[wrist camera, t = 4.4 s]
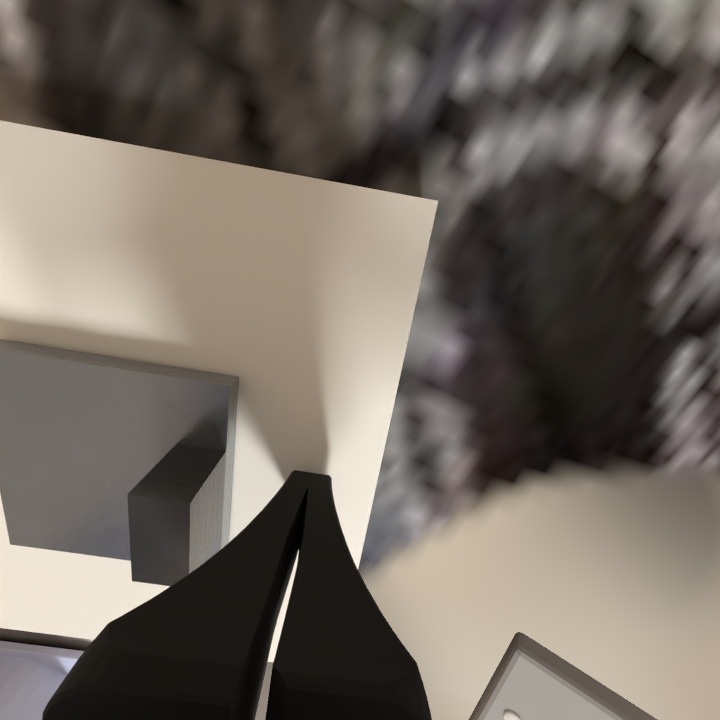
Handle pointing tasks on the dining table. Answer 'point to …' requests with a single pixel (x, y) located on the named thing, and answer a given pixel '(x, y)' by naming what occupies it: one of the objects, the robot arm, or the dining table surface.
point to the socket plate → (208, 323)
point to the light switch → (548, 690)
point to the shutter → (116, 458)
